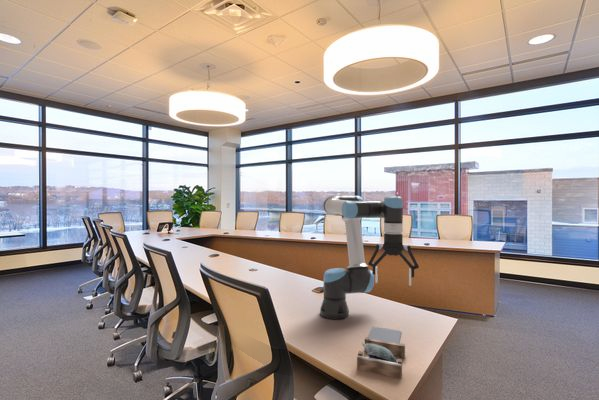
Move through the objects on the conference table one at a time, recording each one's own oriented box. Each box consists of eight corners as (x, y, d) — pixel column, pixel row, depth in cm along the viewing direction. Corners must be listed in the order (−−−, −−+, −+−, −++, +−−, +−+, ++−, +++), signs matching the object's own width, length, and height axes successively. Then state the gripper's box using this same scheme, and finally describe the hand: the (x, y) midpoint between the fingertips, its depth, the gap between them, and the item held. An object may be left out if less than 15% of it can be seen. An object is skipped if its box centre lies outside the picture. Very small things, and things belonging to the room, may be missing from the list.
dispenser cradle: (357, 369, 110) (357, 355, 110) (366, 347, 127) (366, 335, 127) (401, 379, 105) (401, 364, 105) (405, 355, 121) (405, 342, 121)
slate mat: (366, 341, 132) (366, 340, 132) (372, 327, 147) (372, 326, 147) (398, 347, 127) (398, 346, 127) (401, 332, 142) (401, 331, 142)
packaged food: (359, 349, 118) (364, 336, 118) (388, 359, 118) (393, 346, 119) (366, 361, 109) (370, 347, 109) (397, 371, 110) (401, 358, 110)
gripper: (362, 232, 131) (362, 283, 131) (425, 235, 124) (425, 288, 124) (363, 231, 138) (363, 279, 138) (424, 233, 131) (423, 283, 131)
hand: (392, 283), depth 131 cm, fingers open, 13 cm apart
